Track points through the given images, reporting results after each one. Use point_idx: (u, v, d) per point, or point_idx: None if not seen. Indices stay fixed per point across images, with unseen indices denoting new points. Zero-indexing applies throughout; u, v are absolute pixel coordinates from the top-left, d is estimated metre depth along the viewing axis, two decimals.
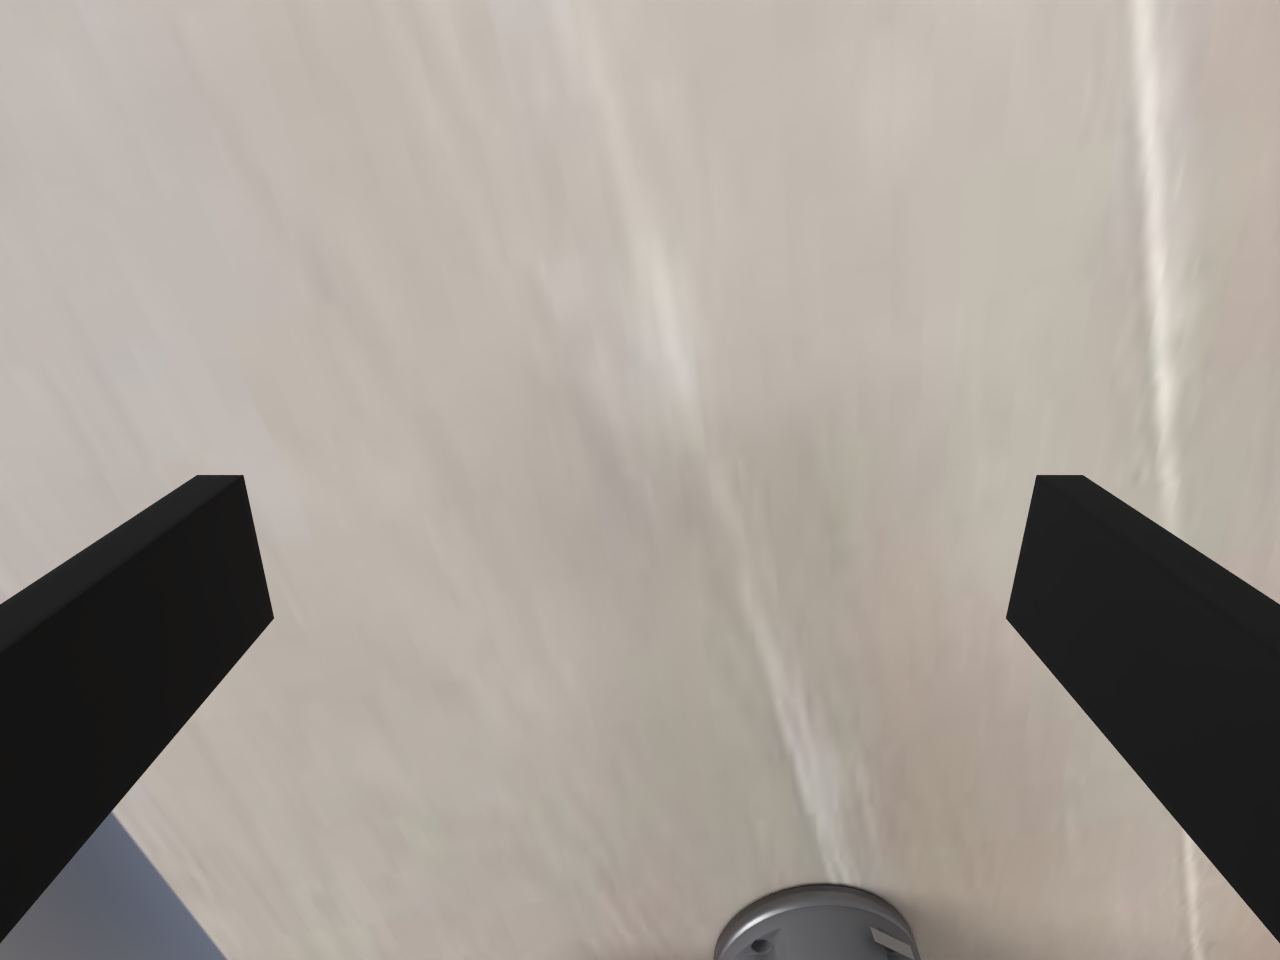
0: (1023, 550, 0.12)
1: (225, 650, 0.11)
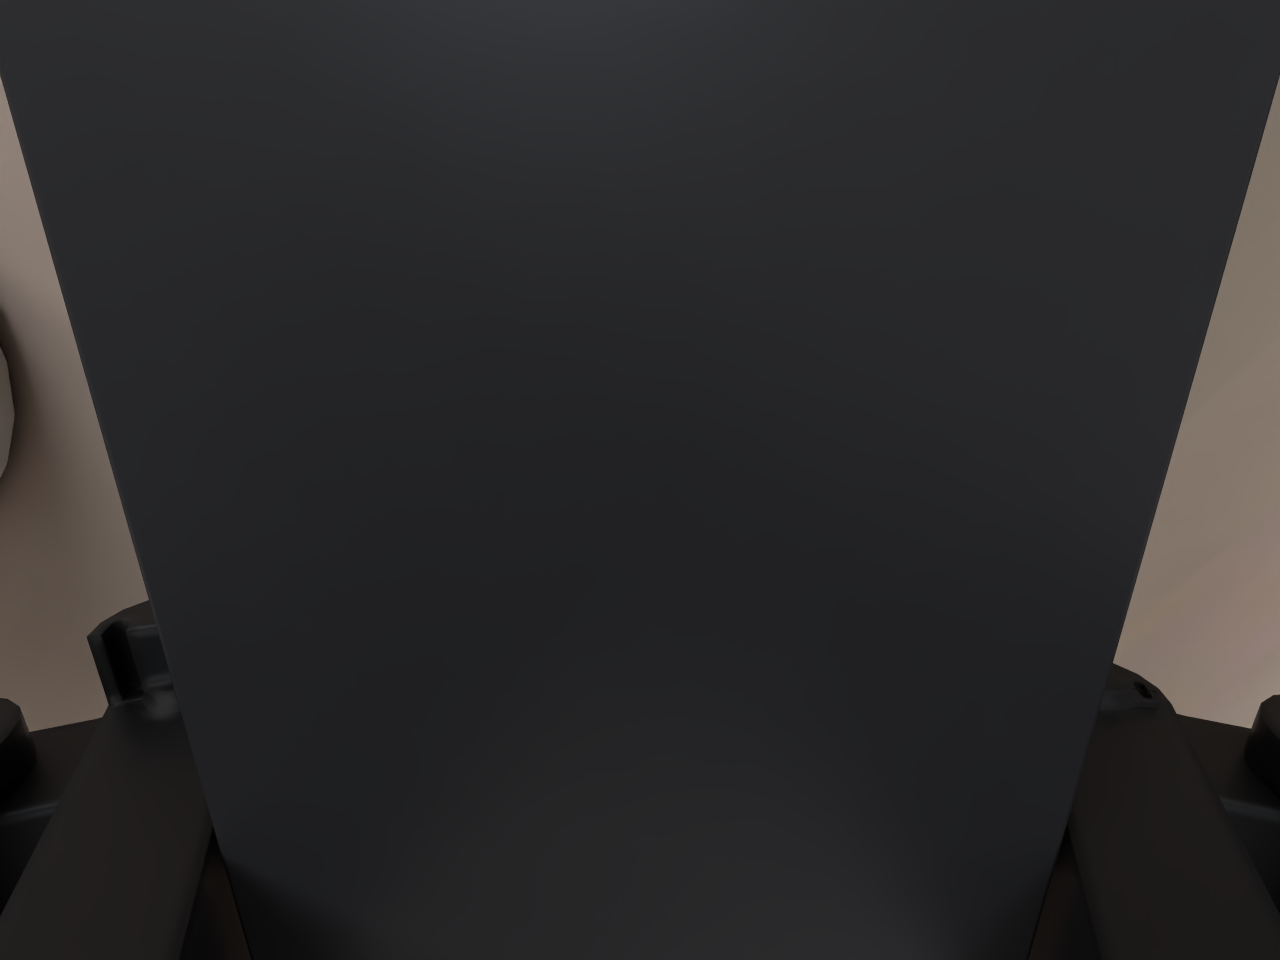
0: None
1: None
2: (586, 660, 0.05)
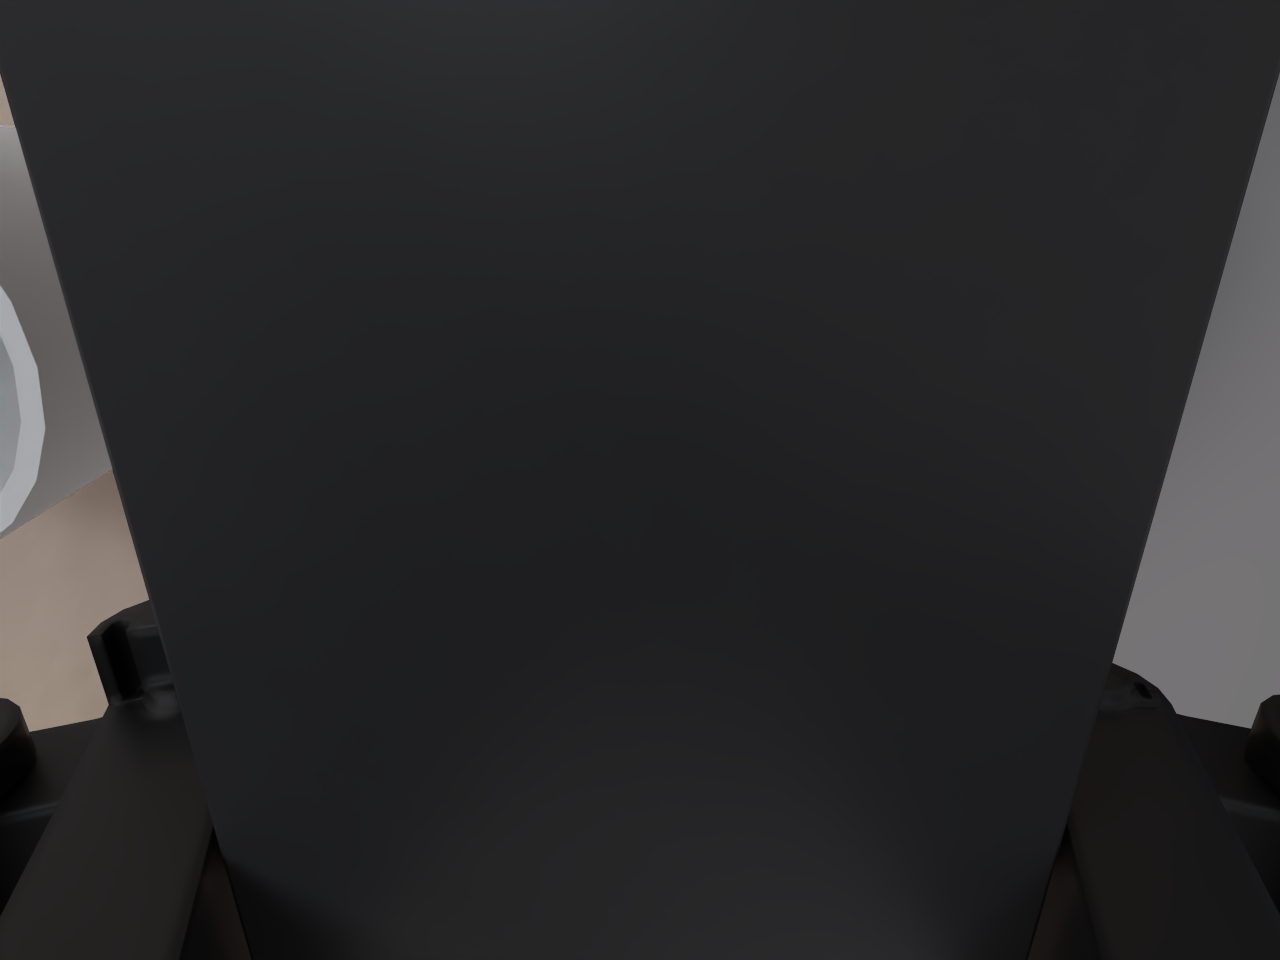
0: None
1: None
2: (586, 660, 0.05)
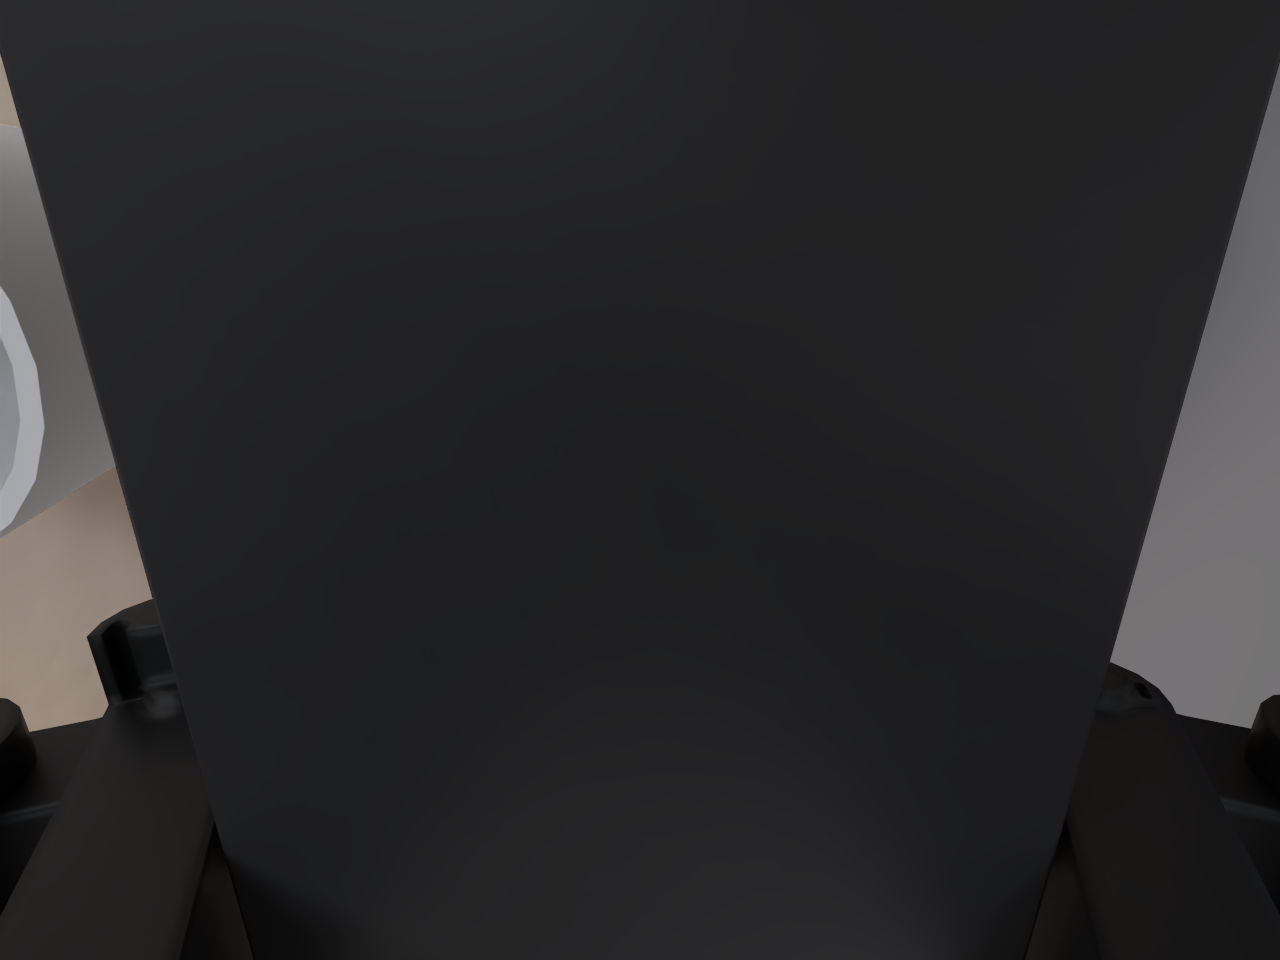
0: None
1: None
2: (586, 656, 0.05)
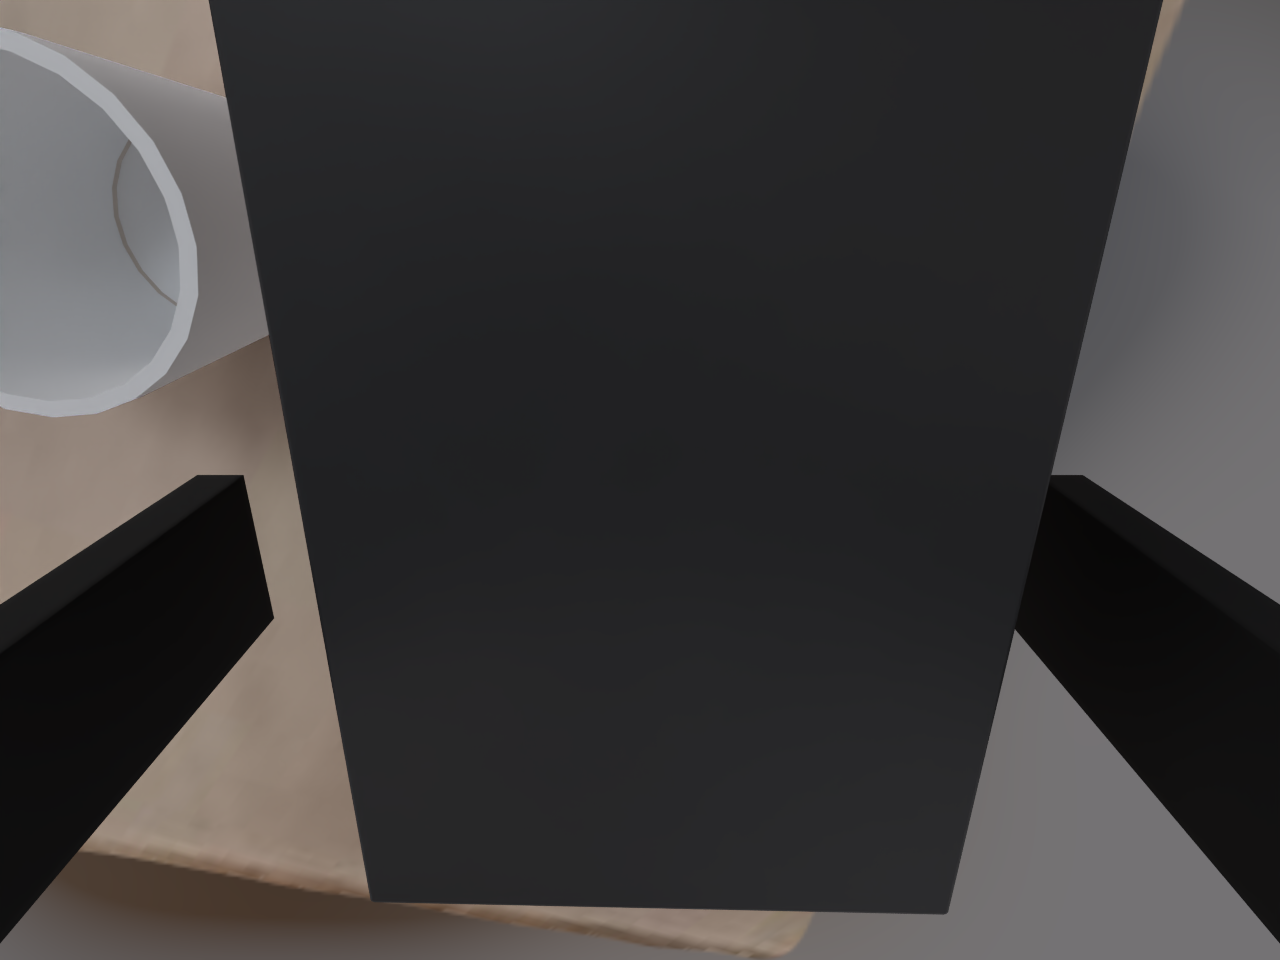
0: None
1: (225, 650, 0.11)
2: (626, 324, 0.06)
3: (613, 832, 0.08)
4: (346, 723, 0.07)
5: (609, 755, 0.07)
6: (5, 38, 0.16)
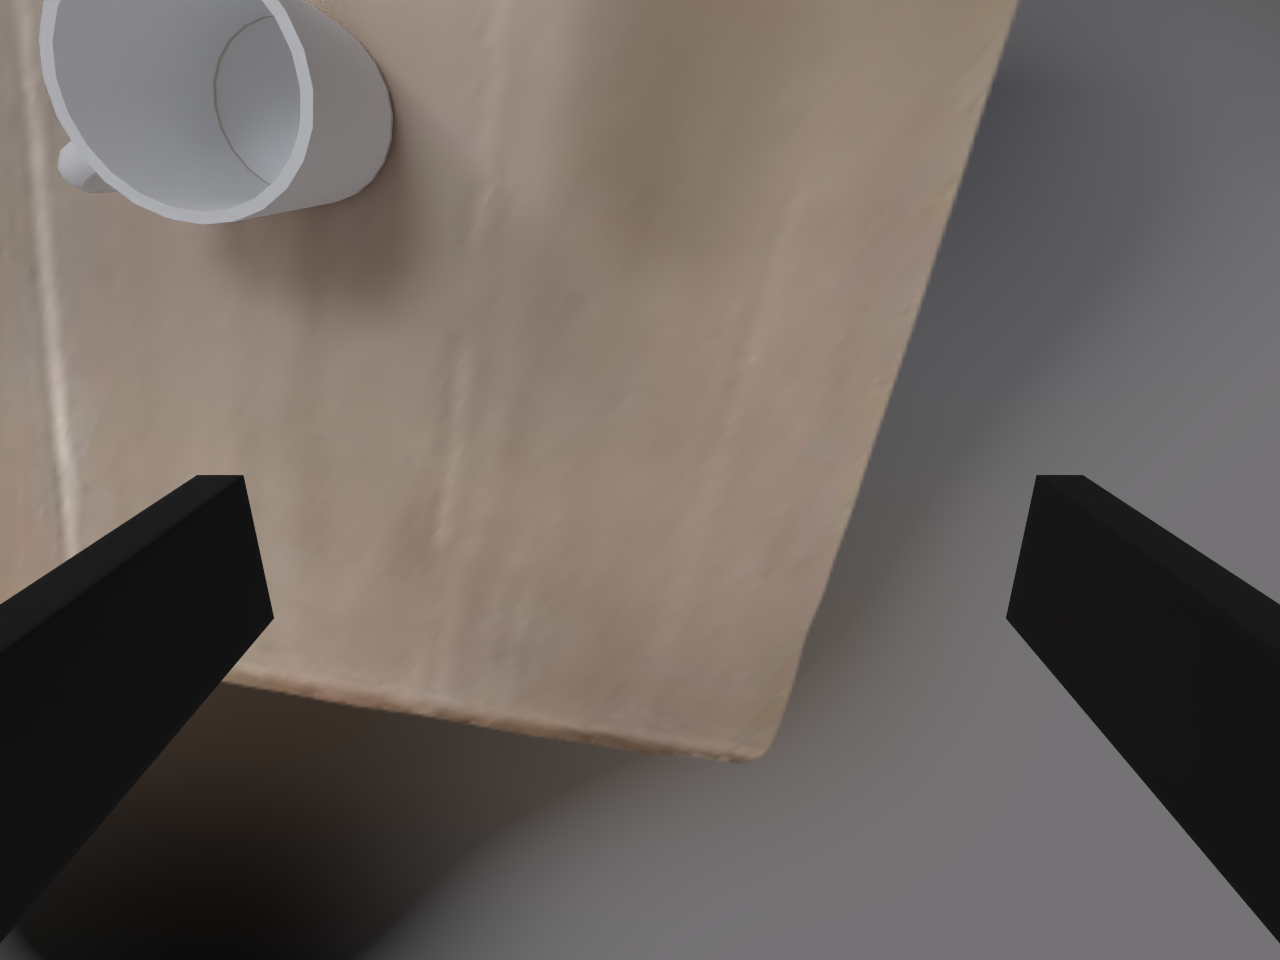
0: (1023, 551, 0.12)
1: (225, 650, 0.11)
2: None
3: None
4: None
5: None
6: None
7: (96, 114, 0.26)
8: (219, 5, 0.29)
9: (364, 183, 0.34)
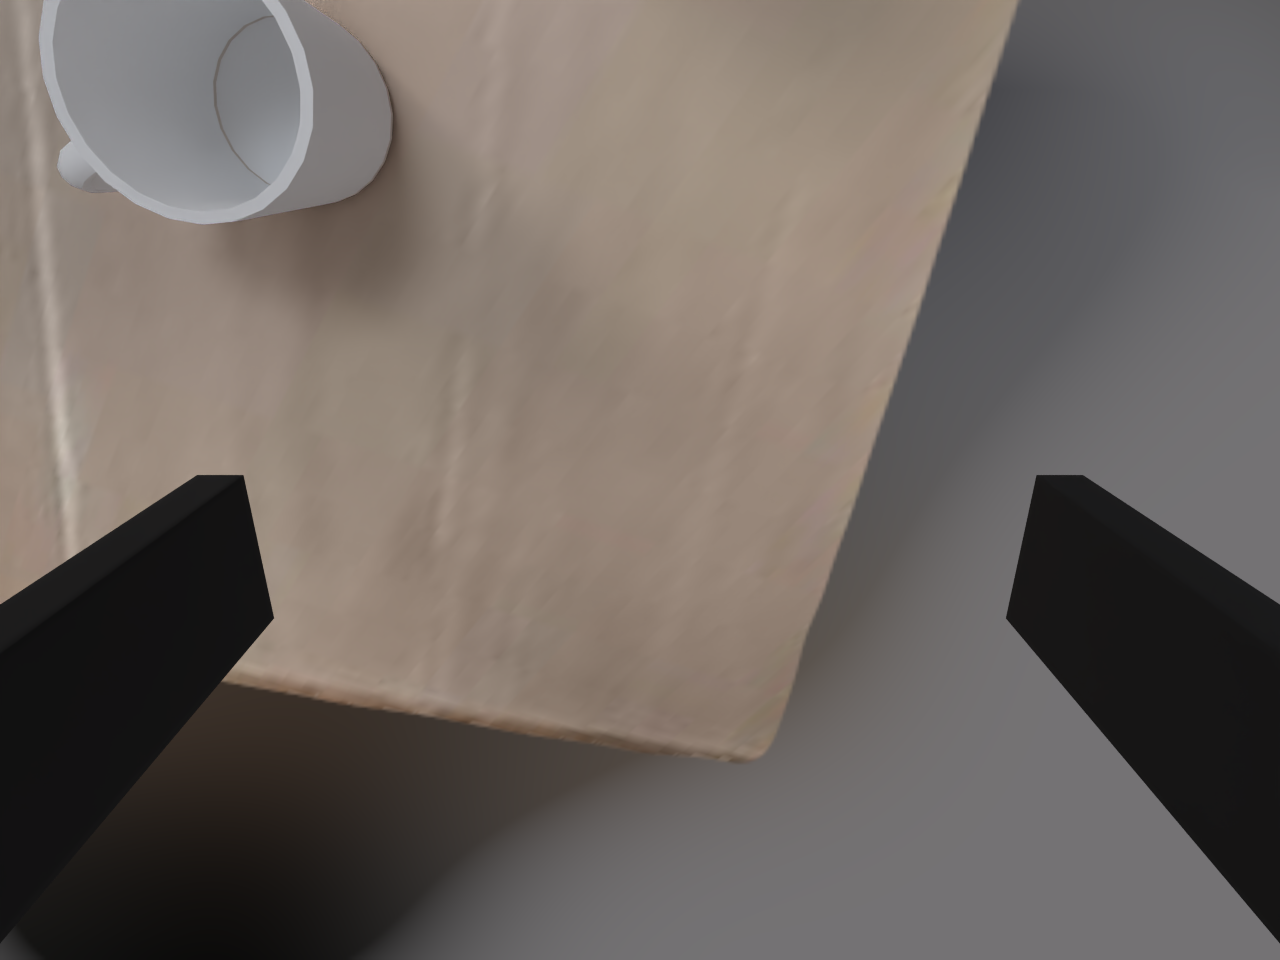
0: (1023, 551, 0.12)
1: (225, 650, 0.11)
2: None
3: None
4: None
5: None
6: None
7: (96, 114, 0.26)
8: (219, 5, 0.29)
9: (364, 183, 0.34)
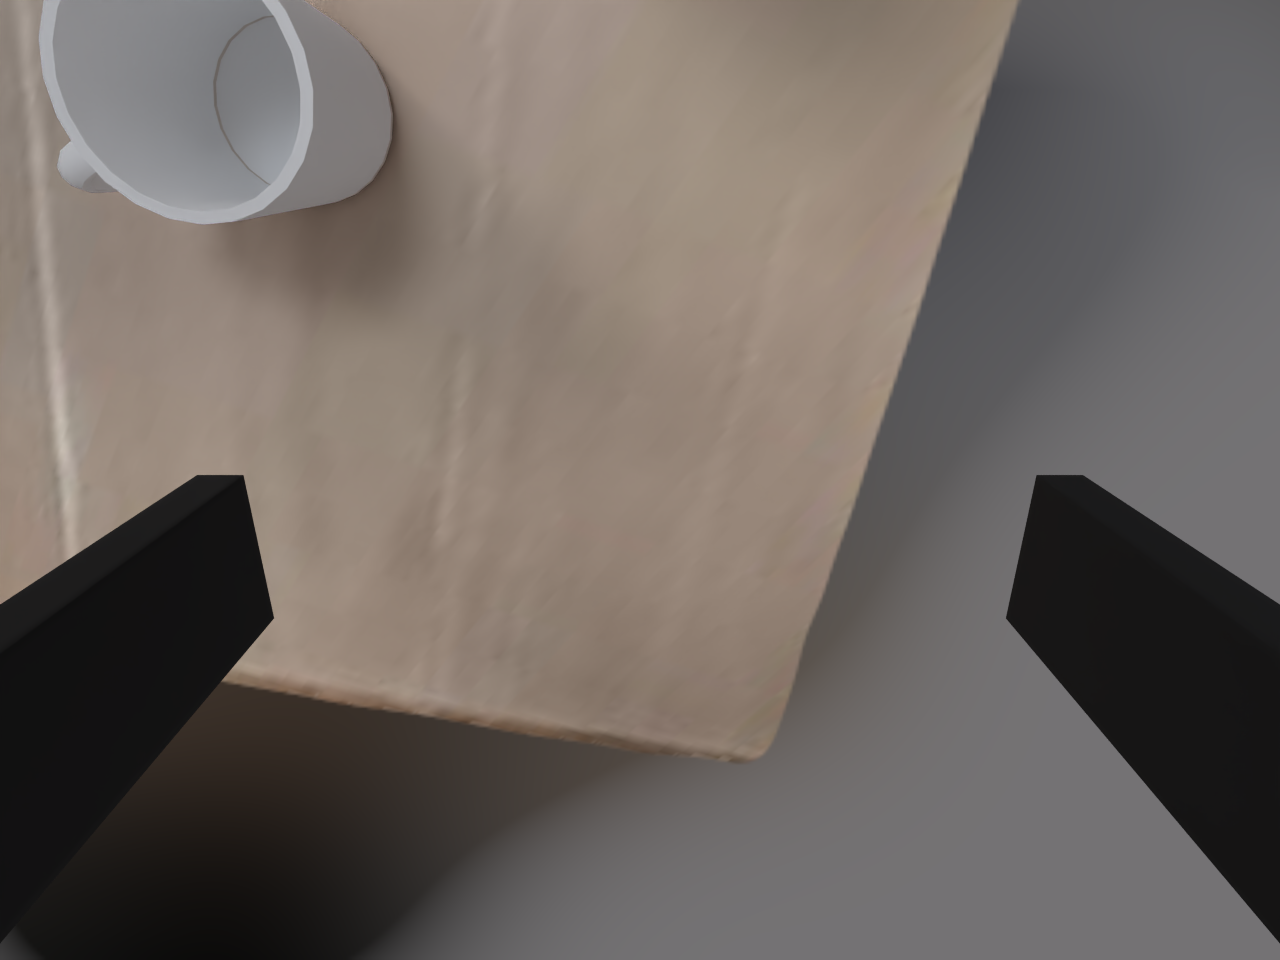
0: (1023, 551, 0.12)
1: (225, 650, 0.11)
2: None
3: None
4: None
5: None
6: None
7: (96, 114, 0.26)
8: (219, 5, 0.29)
9: (364, 183, 0.34)
